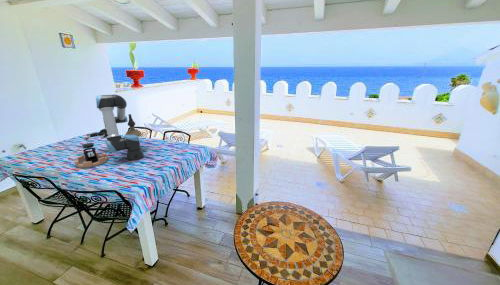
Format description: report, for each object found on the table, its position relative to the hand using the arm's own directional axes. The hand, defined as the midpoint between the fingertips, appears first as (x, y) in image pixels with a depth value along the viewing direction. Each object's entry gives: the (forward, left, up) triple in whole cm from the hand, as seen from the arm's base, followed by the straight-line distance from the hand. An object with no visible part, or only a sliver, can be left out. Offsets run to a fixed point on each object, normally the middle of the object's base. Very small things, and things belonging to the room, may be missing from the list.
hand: (93, 138), depth 195 cm
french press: (-4, +11, -19) cm, 23 cm away
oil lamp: (-25, -22, -20) cm, 39 cm away
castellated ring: (-4, +12, -20) cm, 24 cm away
